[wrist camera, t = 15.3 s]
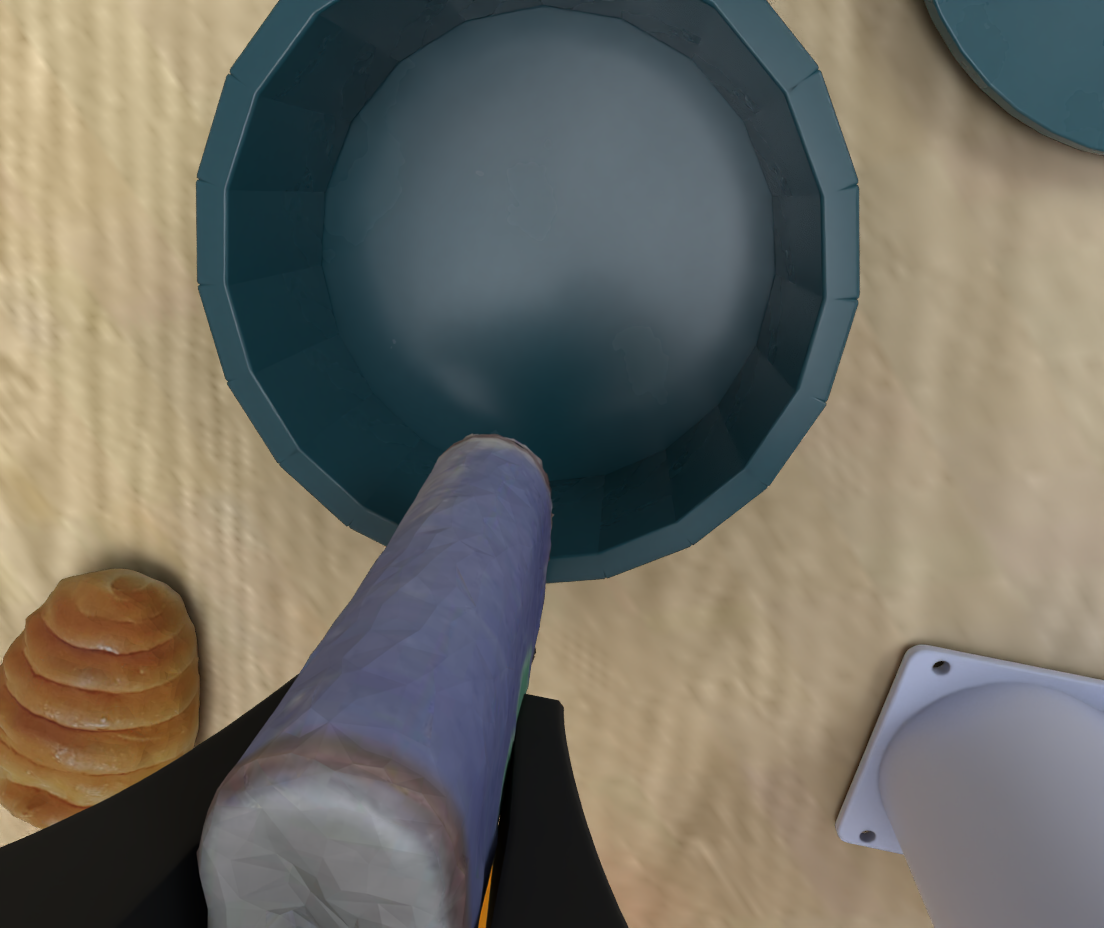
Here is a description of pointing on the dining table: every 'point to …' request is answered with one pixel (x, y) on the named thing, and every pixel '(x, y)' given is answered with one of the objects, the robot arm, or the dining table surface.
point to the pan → (531, 254)
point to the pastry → (95, 694)
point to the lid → (1034, 61)
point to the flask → (397, 721)
